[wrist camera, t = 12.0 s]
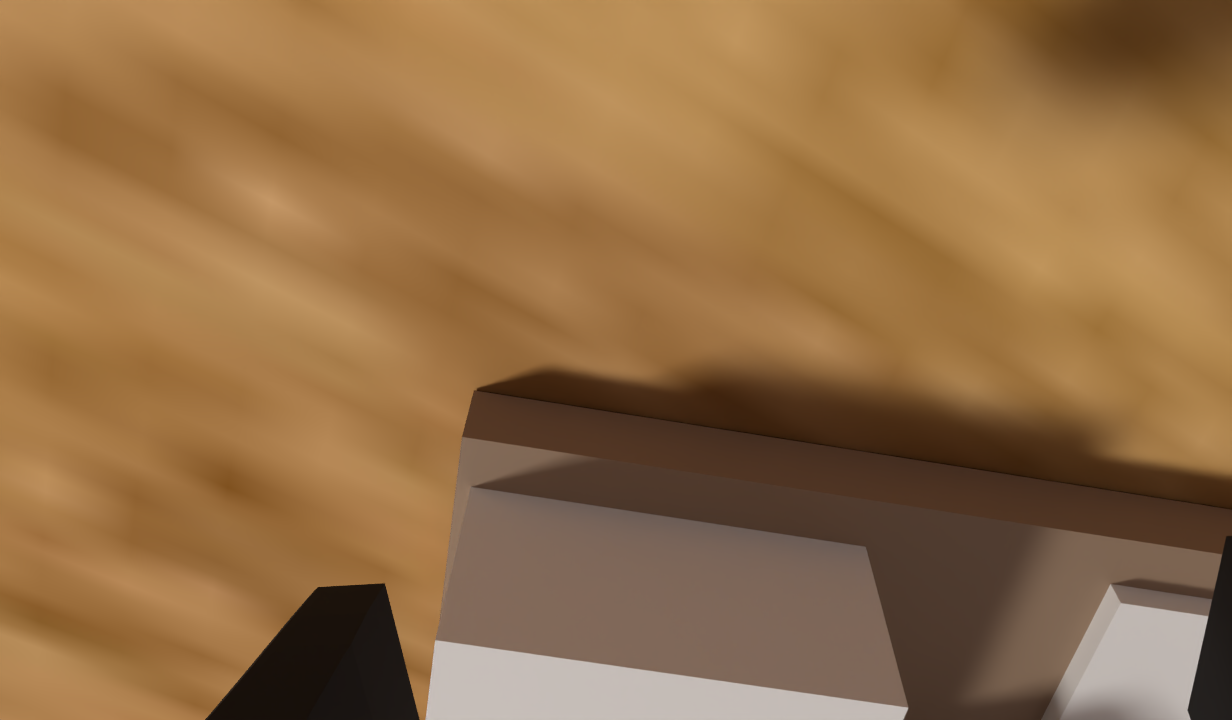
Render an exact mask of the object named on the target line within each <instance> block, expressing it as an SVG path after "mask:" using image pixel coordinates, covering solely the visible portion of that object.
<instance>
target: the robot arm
mask: <svg viewBox="0 0 1232 720" xmlns="http://www.w3.org/2000/svg"><path fill="white" fill-rule="evenodd" d="M1187 711H1188V713H1189V716H1190V719H1191V720H1232V536H1226V540H1225V544H1224V549H1223V553H1222V558H1221V562H1220V567H1219V571H1218V576H1217V580H1216V584H1215V589H1214V593H1213V598H1212V602H1211V607H1210V611H1209V616H1208V620H1207V625H1206V629H1205V634H1204V638H1203V643H1202V647H1201V652H1200V656H1199V661H1198V665H1197V670H1196V674H1195V678H1194V683H1193V687H1192V692H1191V696H1190V701H1189V705H1188V710H1187ZM205 720H419V716H418V712H417V709H416V705H415V701H414V697H413V693H412V689H411V685H410V681H409V677H408V673H407V669H406V665H405V661H404V657H403V653H402V649H401V645H400V642H399V638H398V634H397V630H396V626H395V622H394V618H393V614H392V610H391V606H390V602H389V598H388V594H387V590H386V586H385V583H384V584H366V585H348V586H331V587H318V588H317V589H316V590H315V591H314V592H313V593H312V594H311V595H310V596H309V597H308V599H307V600H306V601H305V602H304V603H303V604H302V606H301V607H300V608H299V609H298V610H297V611H296V612H295V614H294V615H293V616H292V617H291V618H290V619H289V621H288V622H287V623H286V624H285V625H284V627H283V628H282V629H281V630H280V631H279V633H278V634H277V635H276V636H275V637H274V639H273V640H272V641H271V642H270V643H269V645H268V646H267V647H266V648H265V649H264V651H263V652H262V653H261V654H260V655H259V657H258V658H257V659H256V660H255V661H254V663H253V664H252V665H251V666H250V667H249V669H248V670H247V671H246V672H245V673H244V675H243V676H242V677H241V678H240V679H239V680H238V682H237V683H236V684H235V685H234V686H233V688H232V689H231V690H230V691H229V692H228V694H227V695H226V696H225V697H224V698H223V699H222V701H221V702H220V703H219V704H218V705H217V707H216V708H215V709H214V710H213V711H212V712H211V714H210V715H209V716H208V717H207V718H206V719H205Z"/></svg>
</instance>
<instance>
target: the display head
mask: <svg viewBox="0 0 1232 720" xmlns="http://www.w3.org/2000/svg"><path fill="white" fill-rule="evenodd" d="M1226 536H1232V510H1231V509H1225V508H1218V507H1212V506H1206V505H1199V504H1193V503H1187V502H1180V501H1174V500H1168V499H1161V498H1155V497H1148V496H1142V495H1136V494H1129V493H1123V492H1117V491H1110V490H1104V489H1098V488H1091V487H1085V486H1079V485H1072V484H1066V483H1059V482H1053V481H1047V480H1040V479H1034V478H1028V477H1021V476H1015V475H1009V474H1002V473H996V472H990V471H983V470H977V469H970V468H964V467H958V466H951V465H945V464H939V463H932V462H926V461H920V460H913V459H907V458H901V457H894V456H888V455H881V454H875V453H869V452H862V451H856V450H850V449H843V448H837V447H831V446H824V445H818V444H812V443H805V442H799V441H792V440H786V439H780V438H773V437H767V436H761V435H754V434H748V433H742V432H735V431H729V430H723V429H716V428H710V427H703V426H697V425H691V424H684V423H678V422H672V421H665V420H659V419H653V418H646V417H640V416H634V415H627V414H621V413H614V412H608V411H602V410H595V409H589V408H583V407H576V406H570V405H564V404H557V403H551V402H545V401H538V400H532V399H525V398H519V397H513V396H506V395H500V394H494V393H487V392H481V391H475V390H474V393H473V397H472V401H471V405H470V409H469V412H468V416H467V420H466V424H465V428H464V432H463V436H462V442H461V450H460V459H459V467H458V475H457V483H456V491H455V499H454V508H453V516H452V524H451V532H450V540H449V548H448V557H447V565H446V573H445V581H444V589H443V597H442V606H441V614H440V622H439V626H438V631H437V635H436V639H435V647H434V655H433V664H432V672H431V680H430V688H429V697H428V705H427V713H426V720H1191V719H1190V716H1189V713H1188V711H1187V710H1188V705H1189V701H1190V696H1191V692H1192V687H1193V683H1194V678H1195V674H1196V670H1197V665H1198V661H1199V656H1200V652H1201V647H1202V643H1203V638H1204V634H1205V629H1206V625H1207V620H1208V616H1209V611H1210V607H1211V602H1212V598H1213V593H1214V589H1215V584H1216V580H1217V576H1218V571H1219V567H1220V562H1221V558H1222V553H1223V549H1224V544H1225V540H1226Z"/></svg>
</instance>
